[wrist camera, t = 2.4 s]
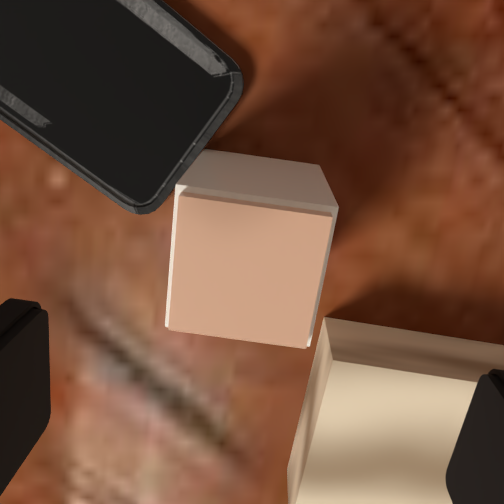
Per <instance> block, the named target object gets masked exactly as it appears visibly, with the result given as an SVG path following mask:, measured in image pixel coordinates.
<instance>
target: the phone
mask: <svg viewBox="0 0 504 504" xmlns="http://www.w3.org/2000/svg"><path fill="white" fill-rule="evenodd" d="M243 87H244V81H243V74H242V72H241V70H240V67H239V66H238V64H237V63H236V62H235V61H234V60H233V59H232V58H231V57H230V56H229V55H227V54H226V53H225V52H224V51H223V50H221V49H220V48H219V47H218V46H217V45H215V44H214V43H213V42H212V41H211V40H210V39H208V38H207V37H206V36H205V35H204V34H202V33H201V32H200V31H199V30H198V29H196V28H195V27H194V26H193V25H192V24H190V23H189V22H188V21H187V20H186V19H185V18H183V17H182V16H181V15H180V14H179V13H177V12H176V11H175V10H174V9H173V8H171V7H170V6H169V5H168V4H167V3H165V2H164V1H163V0H0V120H2V121H3V122H4V123H6V124H7V125H9V126H10V127H11V128H13V129H14V130H16V131H17V132H18V133H20V134H21V135H23V136H24V137H25V138H27V139H28V140H29V141H31V142H32V143H34V144H35V145H36V146H38V147H39V148H41V149H42V150H43V151H45V152H46V153H47V154H49V155H50V156H52V157H53V158H54V159H56V160H57V161H59V162H60V163H61V164H63V165H64V166H65V167H67V168H68V169H70V170H71V171H72V172H74V173H75V174H77V175H78V176H79V177H81V178H82V179H84V180H85V181H86V182H88V183H89V184H90V185H92V186H93V187H95V188H96V189H97V190H99V191H100V192H102V193H103V194H104V195H106V196H107V197H108V198H110V199H111V200H113V201H114V202H115V203H117V204H118V205H120V206H121V207H122V208H124V209H125V210H127V211H129V212H131V213H135V214H140V215H141V214H149V213H151V212H153V211H155V210H156V209H157V208H158V207H160V206H161V204H162V203H163V202H164V201H165V199H166V198H167V197H168V195H169V194H170V193H171V191H172V190H173V189H174V187H175V186H176V183H177V182H178V181H179V179H180V178H181V177H182V176H183V175H184V173H185V172H186V171H187V170H188V168H189V167H190V166H191V164H192V163H193V162H194V160H195V159H196V158H197V156H198V155H199V154H200V152H201V151H202V150H203V148H204V147H205V145H206V144H207V143H208V141H209V140H210V139H211V137H212V136H213V135H214V133H215V132H216V131H217V129H218V128H219V127H220V125H221V124H222V123H223V121H224V120H225V119H226V117H227V116H228V114H229V113H230V112H231V110H232V109H233V108H234V106H235V105H236V104H237V102H238V101H239V99H240V97H241V95H242V92H243Z"/></svg>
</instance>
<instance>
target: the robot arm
mask: <svg viewBox="0 0 504 504" xmlns="http://www.w3.org/2000/svg"><path fill="white" fill-rule="evenodd" d="M50 414H51V401H50V363H49V324H48V313H47V311H46V310H42V309H41V306H40V304H39V303H38V302H34V301H27V300H20V299H13V298H10V299H8V300H6V301H5V302H4V303H3V304H1V305H0V496H1V494H2V493H3V491H4V490H5V488H6V487H7V485H8V484H9V482H10V481H11V479H12V478H13V476H14V475H15V473H16V472H17V470H18V469H19V467H20V466H21V464H22V463H23V462H24V460H25V459H26V457H27V456H28V454H29V453H30V451H31V450H32V448H33V447H34V445H35V444H36V442H37V441H38V439H39V438H40V436H41V435H42V433H43V432H44V430H45V429H46V427H47V425H48V422H49V419H50ZM445 478H446V487H447V490H448V493H449V495H450V498H451V500H452V503H453V504H504V370H500V369H492V370H490V371H489V372H488V374H483V375H481V377H480V378H479V380H478V383H477V386H476V388H475V391H474V394H473V397H472V400H471V402H470V405H469V408H468V411H467V414H466V416H465V419H464V422H463V425H462V428H461V431H460V433H459V436H458V439H457V442H456V445H455V447H454V450H453V453H452V456H451V459H450V461H449V464H448V467H447V470H446V477H445Z"/></svg>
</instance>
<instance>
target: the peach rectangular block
mask: <svg viewBox="0 0 504 504" xmlns="http://www.w3.org/2000/svg"><path fill="white" fill-rule="evenodd" d="M338 209H339V206H338V204H337V202H336V200H335V198H334V196H333V193H332V191H331V189H330V187H329V185H328V183H327V180H326V178H325V176H324V174H323V172H322V170H321V167H320V165H316V164H309V163H302V162H295V161H288V160H281V159H274V158H267V157H260V156H253V155H246V154H239V153H232V152H225V151H217V150H210V149H204V150H203V151H202V153H201V154H200V155H199V156H198V157H197V159H196V160H195V161H194V162H193V164H192V165H191V166H190V167H189V168H188V170H187V171H186V172H185V173H184V175H183V176H182V177H181V178H180V179H179V181H178V182H177V183H176V186H175V200H174V213H173V226H172V240H171V253H170V266H169V279H168V293H167V306H166V319H165V327H168V330H172V331H179V332H187V333H194V334H201V335H208V336H216V337H223V338H230V339H237V340H245V341H252V342H259V343H267V344H274V345H281V346H288V347H296V348H303V349H306V346H309V347H310V343H311V338H312V334H313V329H314V324H315V319H316V314H317V310H318V305H319V300H320V295H321V290H322V286H323V281H324V276H325V271H326V266H327V262H328V257H329V252H330V247H331V242H332V238H333V233H334V228H335V223H336V219H337V214H338Z"/></svg>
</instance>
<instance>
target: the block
mask: <svg viewBox="0 0 504 504" xmlns="http://www.w3.org/2000/svg"><path fill="white" fill-rule="evenodd" d="M492 369H500V370H504V345H499V344H493V343H487V342H480V341H474V340H468V339H461V338H455V337H449V336H442V335H436V334H430V333H423V332H417V331H411V330H404V329H398V328H392V327H385V326H379V325H372V324H366V323H360V322H353V321H347V320H341V319H334V318H328V317H324V319H323V323H322V327H321V331H320V336H319V340H318V344H317V348H316V352H315V356H314V360H313V365H312V369H311V373H310V377H309V381H308V385H307V390H306V394H305V398H304V402H303V406H302V410H301V414H300V419H299V423H298V427H297V431H296V435H295V439H294V444H293V448H292V452H291V456H290V460H289V464H288V468H287V480H288V504H453V503H452V500H451V498H450V495H449V493H448V490H447V487H446V478H445V477H446V470H447V467H448V464H449V461H450V459H451V456H452V453H453V450H454V447H455V445H456V442H457V439H458V436H459V433H460V431H461V428H462V425H463V422H464V419H465V416H466V414H467V411H468V408H469V405H470V402H471V400H472V397H473V394H474V391H475V388H476V386H477V383H478V380H479V378H480V377H481V375H483V374H488V372H489V371H490V370H492Z"/></svg>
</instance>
